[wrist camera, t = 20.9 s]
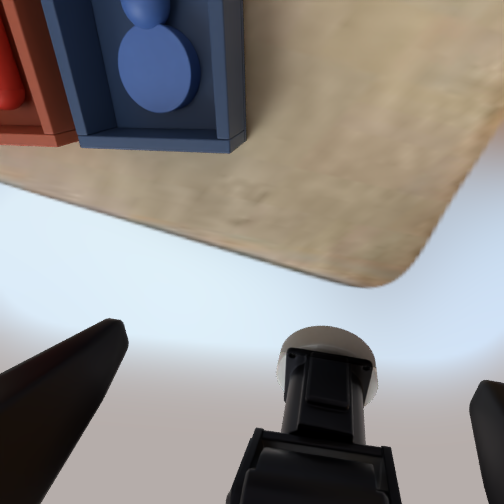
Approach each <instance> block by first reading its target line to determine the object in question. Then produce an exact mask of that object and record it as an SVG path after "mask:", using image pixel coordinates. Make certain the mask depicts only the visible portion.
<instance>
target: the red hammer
mask: <svg viewBox="0 0 504 504" xmlns="http://www.w3.org/2000/svg"><path fill="white" fill-rule="evenodd" d="M24 101H25V89H24V86H23V83H22V80H21V77H20V74H19V71H18V68H17V65H16V62H15V59H14V56H13V53H12V50H11V47H10V43H9V40H8V37H7V34H6V31H5V28H4V25H3V22H2V19H1V16H0V110H6V111H8V110H15V109H17V108H19V107H20V106H21V105H22V104H23V103H24Z"/></svg>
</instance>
